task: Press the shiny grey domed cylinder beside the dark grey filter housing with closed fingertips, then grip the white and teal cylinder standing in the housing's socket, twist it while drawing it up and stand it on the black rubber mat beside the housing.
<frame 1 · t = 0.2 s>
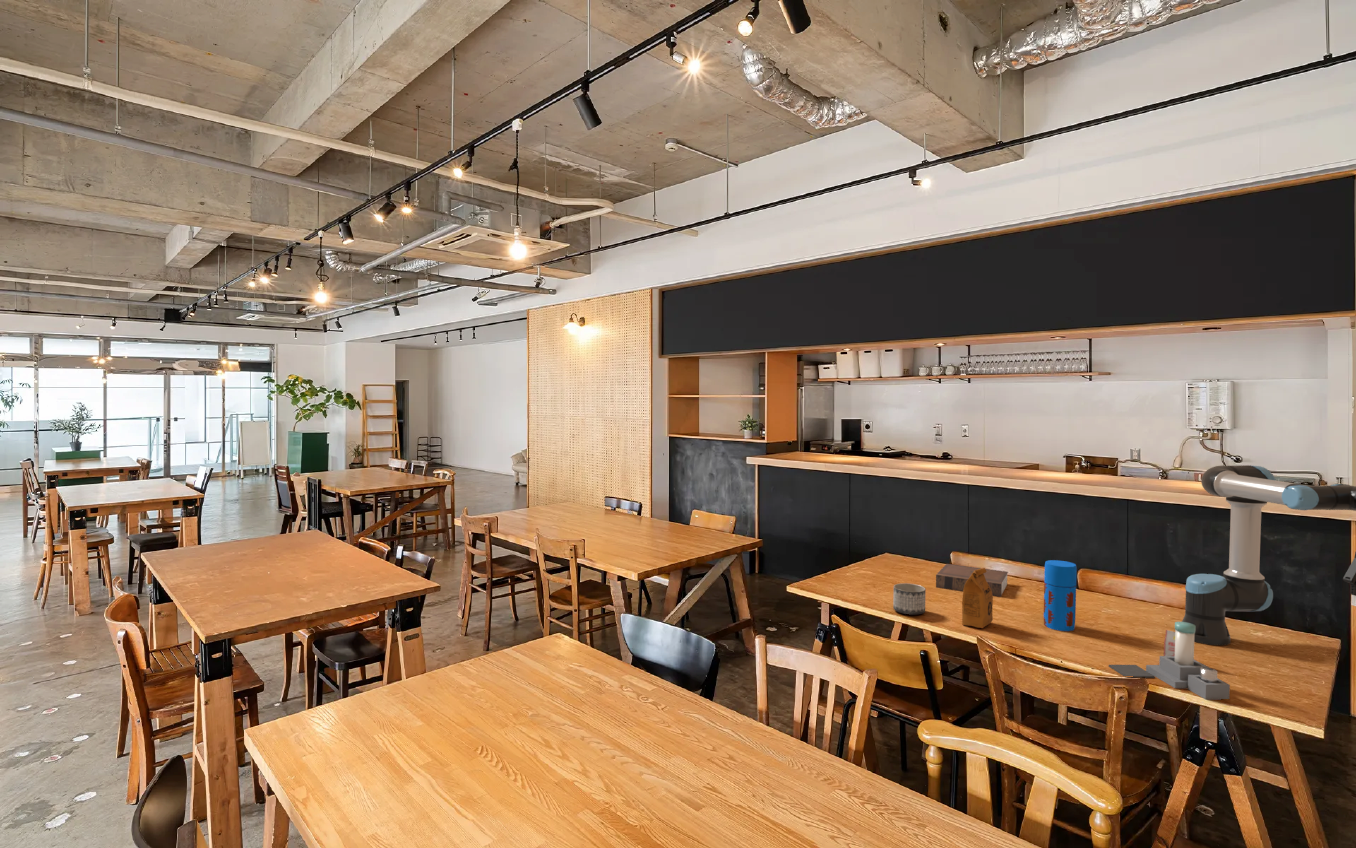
white printed box: (1177, 662, 225), on the table
coffee package: (977, 625, 262), on the table
book: (972, 587, 316), on the table
white and teal cylinder: (1183, 674, 210), point 2 cm above the table, touching housing
housing: (1193, 685, 206), on the table
thermos: (1059, 627, 260), on the table
mat: (1131, 672, 217), on the table
shiny grey domed cylinder: (1208, 678, 200), point 5 cm above the table, slide at 0.0 cm
planter: (909, 612, 277), on the table
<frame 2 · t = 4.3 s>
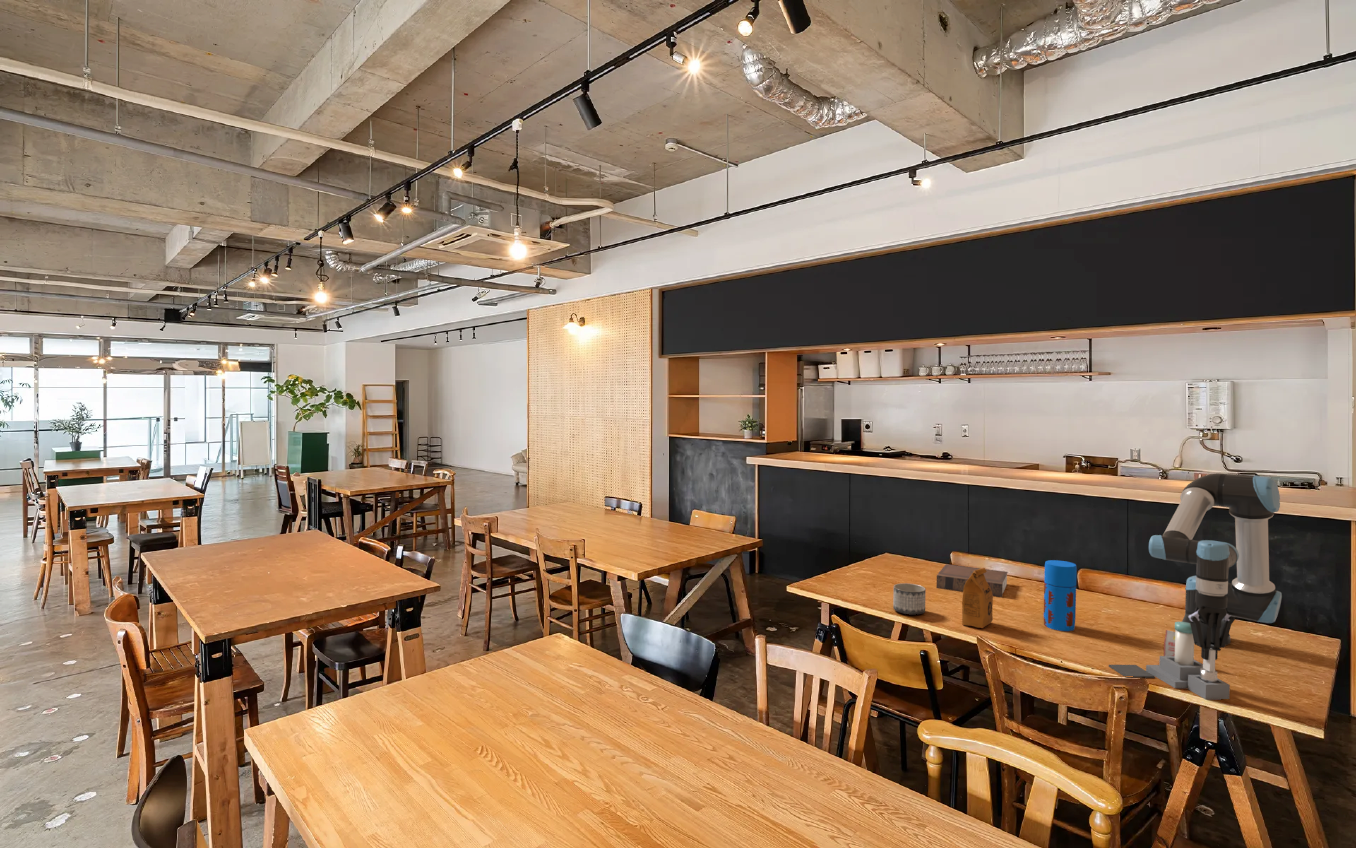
hand: (1208, 669, 200), 8 cm above the table, fingers closed
shiny grey domed cylinder: (1208, 678, 200), point 5 cm above the table, slide at 0.2 cm, touching gripper
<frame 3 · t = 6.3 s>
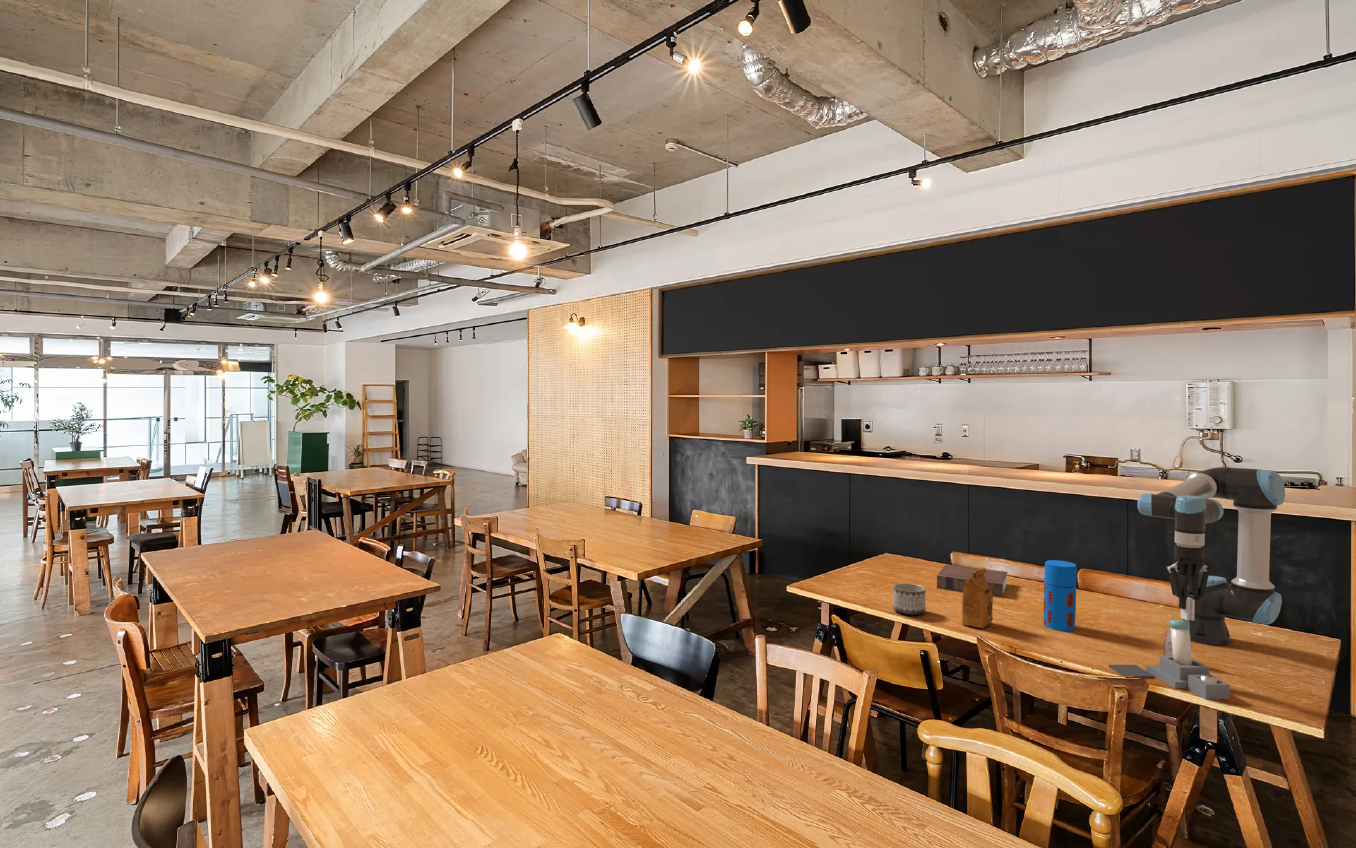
hand: (1187, 618, 209), 20 cm above the table, fingers closed
white and teal cylinder: (1183, 672, 210), point 2 cm above the table, tilted 9°, touching housing
shiny grey domed cylinder: (1208, 684, 200), point 3 cm above the table, slide at 2.1 cm
everything else where it was.
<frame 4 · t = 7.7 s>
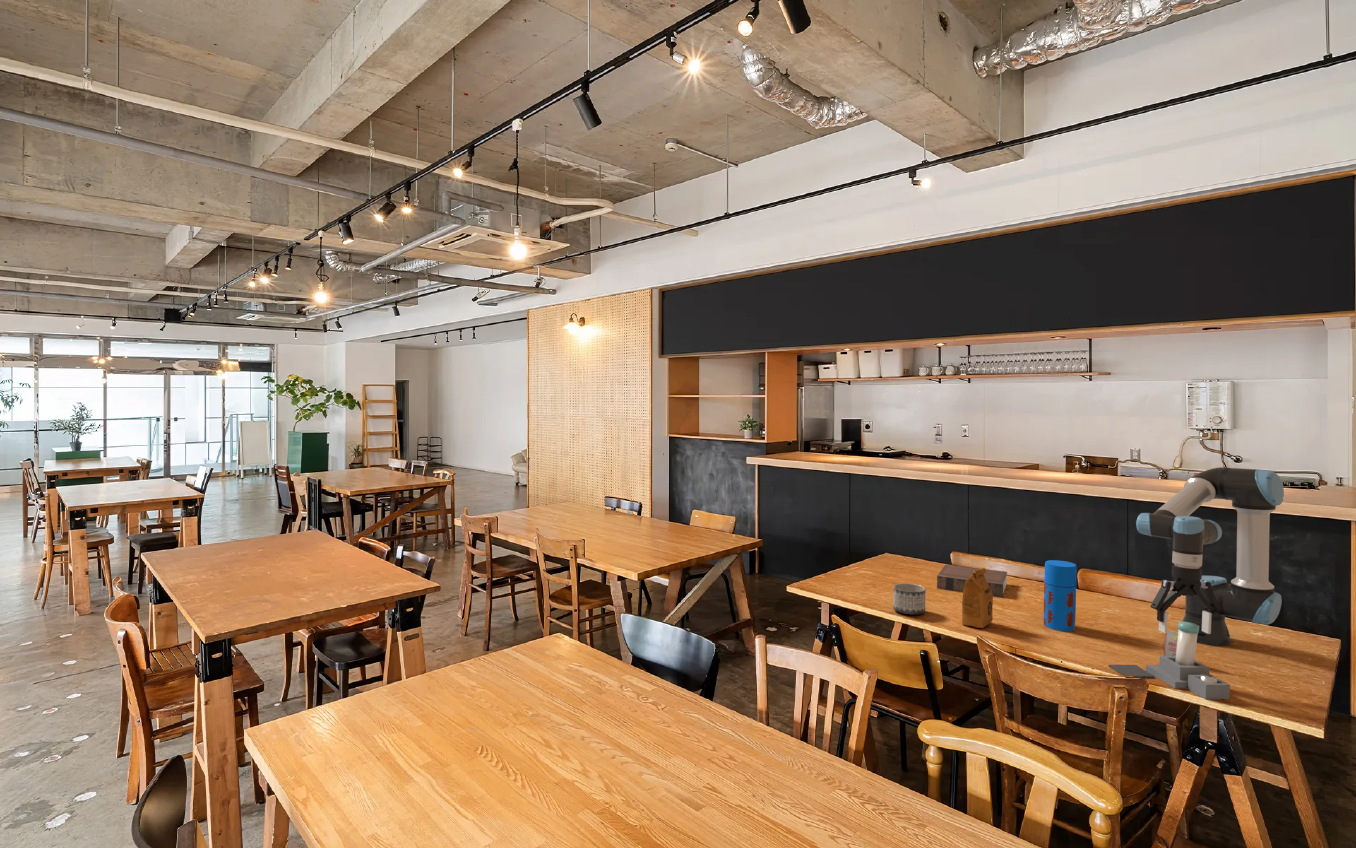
hand: (1184, 632, 210), 16 cm above the table, fingers open, 13 cm apart
white and teal cylinder: (1183, 673, 210), point 2 cm above the table, touching housing
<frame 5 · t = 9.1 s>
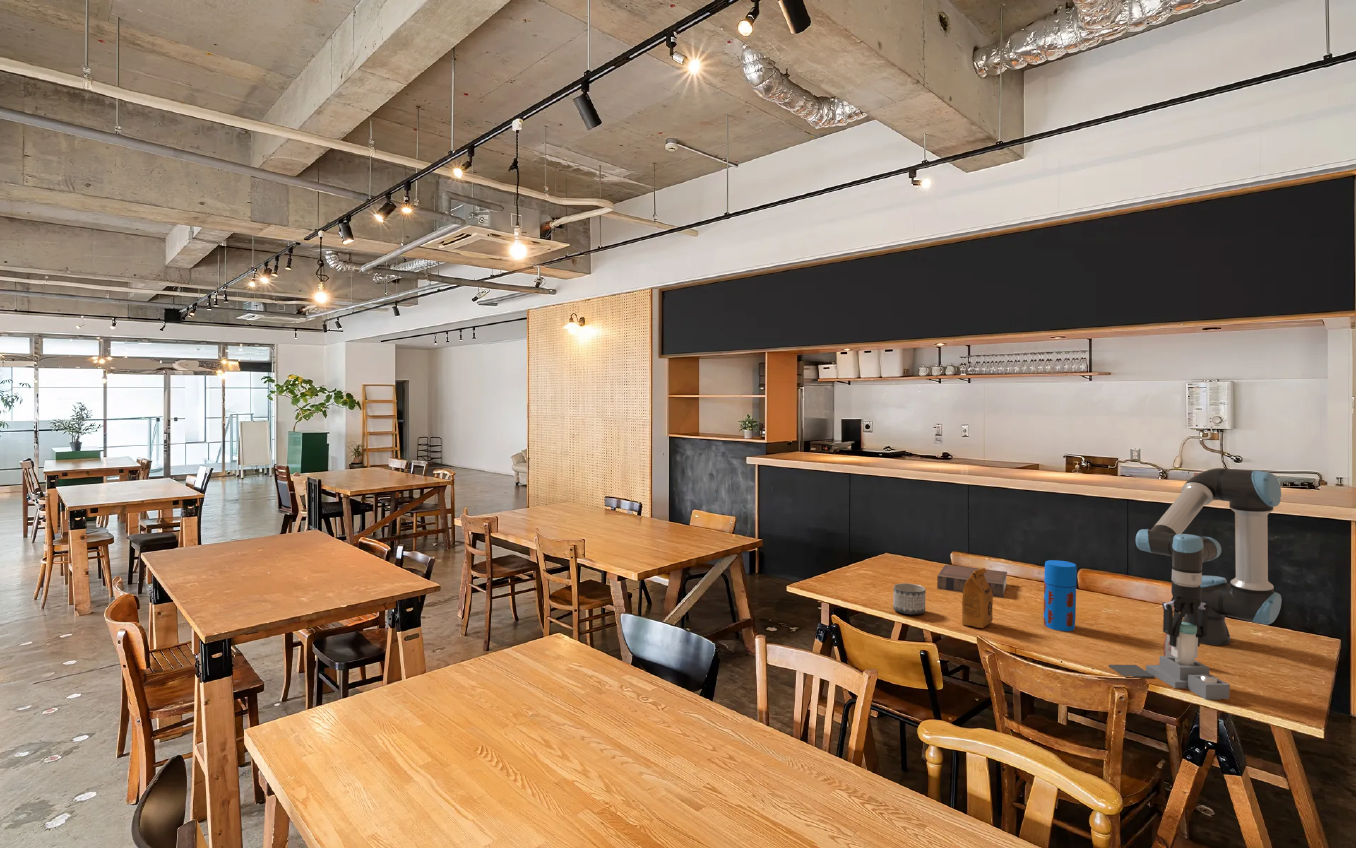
hand: (1184, 656, 210), 8 cm above the table, fingers closed on white and teal cylinder, 5 cm apart
white and teal cylinder: (1183, 673, 210), point 2 cm above the table, touching gripper, housing
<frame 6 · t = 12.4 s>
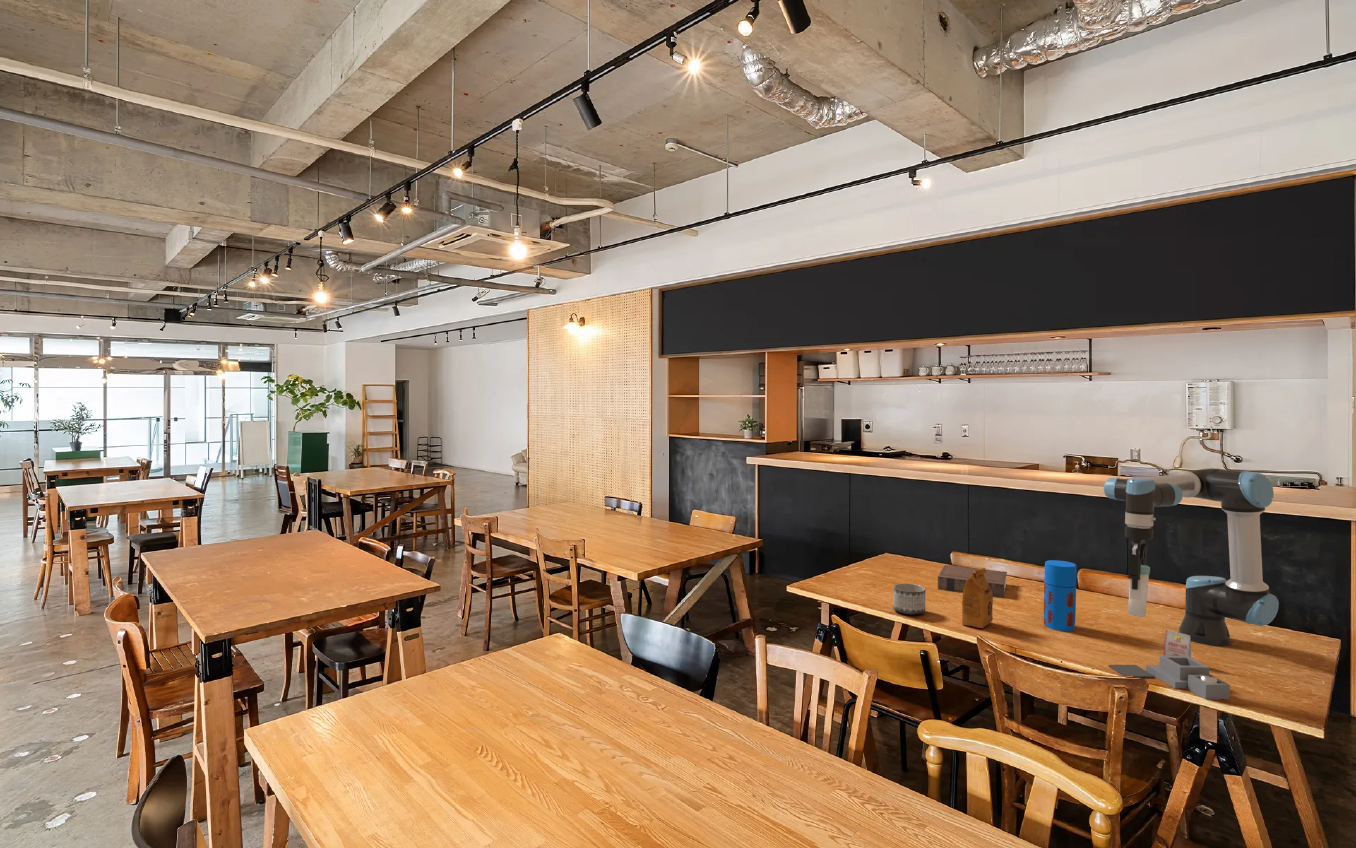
hand: (1136, 597, 215), 25 cm above the table, fingers closed on white and teal cylinder, 5 cm apart
white and teal cylinder: (1136, 614, 215), point 19 cm above the table, touching gripper
when the fingers open (7 cm above the table, at t = 16.1 s): white and teal cylinder stays where it is, resting on mat.
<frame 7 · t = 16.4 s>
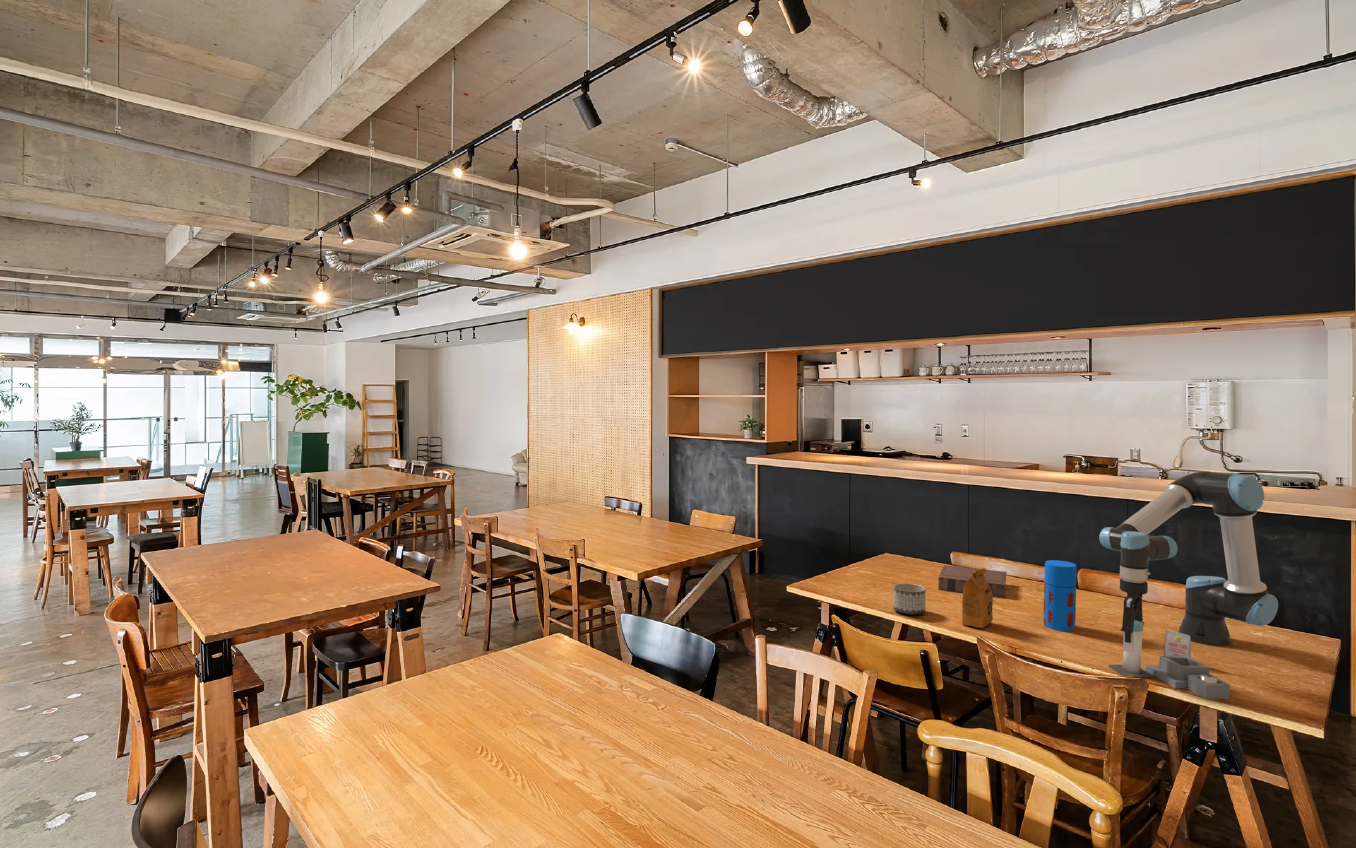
hand: (1131, 647, 216), 8 cm above the table, fingers open, 9 cm apart
white and teal cylinder: (1131, 670, 217), point 1 cm above the table, touching mat
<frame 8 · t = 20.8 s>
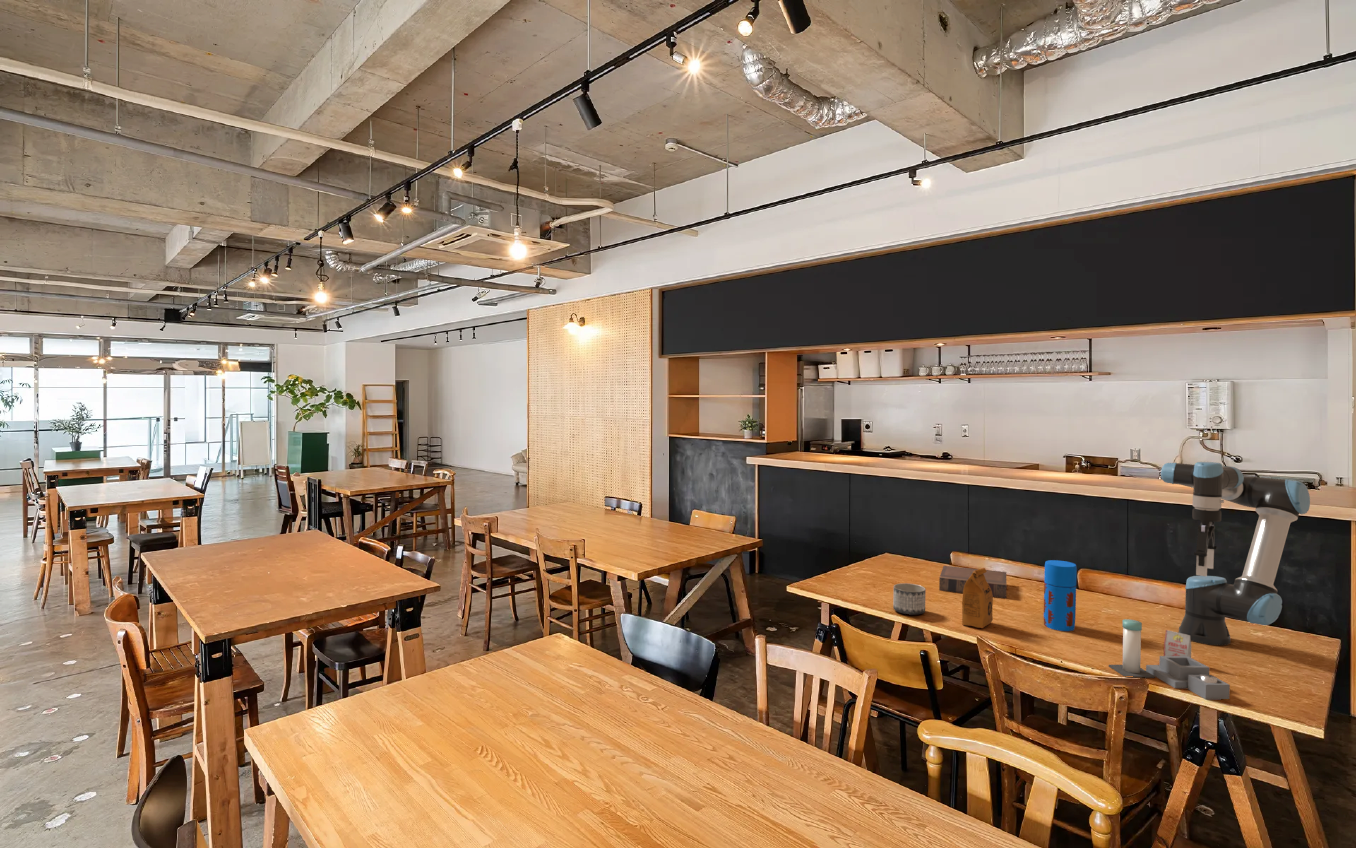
hand: (1204, 571, 221), 32 cm above the table, fingers open, 13 cm apart
at the end: shiny grey domed cylinder slide at 2.1 cm; white and teal cylinder inside the target area on the mat (0.1 cm from its centre), point 0.6 cm above the mat's base; white and teal cylinder tilted 1° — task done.
